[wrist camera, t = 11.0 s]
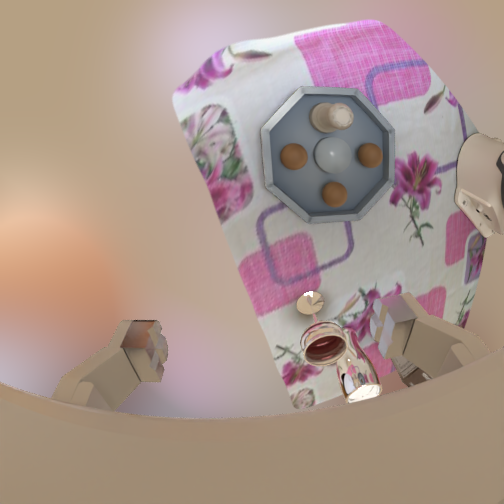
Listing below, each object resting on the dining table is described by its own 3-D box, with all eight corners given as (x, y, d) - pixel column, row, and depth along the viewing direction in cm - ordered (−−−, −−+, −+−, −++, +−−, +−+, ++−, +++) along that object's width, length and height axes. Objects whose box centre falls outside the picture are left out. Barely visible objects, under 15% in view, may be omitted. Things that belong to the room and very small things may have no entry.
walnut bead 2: (347, 190, 38) (356, 196, 35) (331, 208, 39) (338, 215, 36) (330, 174, 37) (338, 179, 34) (314, 192, 38) (320, 198, 35)
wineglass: (313, 323, 50) (328, 370, 39) (283, 309, 48) (293, 359, 37) (336, 296, 47) (357, 342, 37) (306, 281, 46) (322, 327, 35)
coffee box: (411, 323, 52) (445, 375, 37) (389, 342, 54) (418, 396, 39) (394, 303, 49) (432, 359, 34) (370, 323, 51) (401, 383, 36)
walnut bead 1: (309, 154, 36) (316, 157, 33) (292, 173, 37) (297, 177, 34) (290, 137, 35) (295, 138, 32) (273, 156, 36) (276, 159, 33)
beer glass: (347, 319, 50) (373, 377, 36) (363, 336, 52) (389, 391, 39) (319, 339, 52) (337, 400, 38) (337, 354, 54) (356, 411, 41)
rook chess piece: (322, 139, 35) (341, 143, 28) (301, 115, 34) (316, 112, 26) (345, 120, 34) (368, 120, 27) (324, 96, 32) (344, 89, 25)
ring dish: (406, 154, 37) (415, 157, 34) (328, 239, 43) (334, 247, 40) (321, 64, 31) (327, 60, 28) (233, 159, 37) (233, 161, 34)
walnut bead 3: (380, 154, 36) (391, 157, 33) (365, 170, 37) (375, 175, 34) (364, 137, 35) (375, 138, 32) (349, 153, 36) (359, 156, 33)
